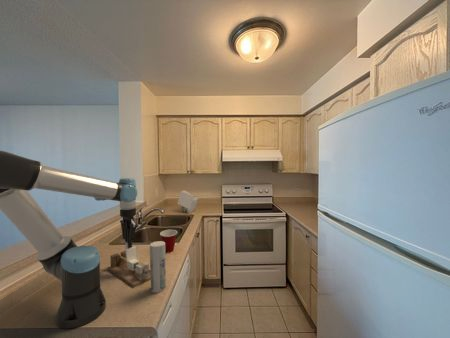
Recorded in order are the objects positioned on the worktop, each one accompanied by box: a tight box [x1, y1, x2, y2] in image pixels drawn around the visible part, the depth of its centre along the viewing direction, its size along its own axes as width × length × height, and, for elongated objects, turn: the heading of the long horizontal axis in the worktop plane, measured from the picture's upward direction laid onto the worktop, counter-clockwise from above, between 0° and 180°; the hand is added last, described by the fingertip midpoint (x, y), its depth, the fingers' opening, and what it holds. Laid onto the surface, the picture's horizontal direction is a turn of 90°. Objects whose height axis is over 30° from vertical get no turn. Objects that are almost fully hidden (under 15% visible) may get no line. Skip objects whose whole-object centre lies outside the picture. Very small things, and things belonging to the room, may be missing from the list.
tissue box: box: [177, 189, 199, 214], centre depth 247 cm, size 20×16×25 cm
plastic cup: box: [159, 229, 178, 253], centre depth 134 cm, size 11×11×12 cm
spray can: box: [149, 240, 167, 294], centre depth 92 cm, size 6×6×20 cm
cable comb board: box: [107, 250, 151, 288], centre depth 106 cm, size 12×28×7 cm, turn 52°
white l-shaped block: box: [125, 245, 140, 271], centre depth 105 cm, size 5×5×10 cm
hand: (128, 253), depth 108 cm, fingers closed
